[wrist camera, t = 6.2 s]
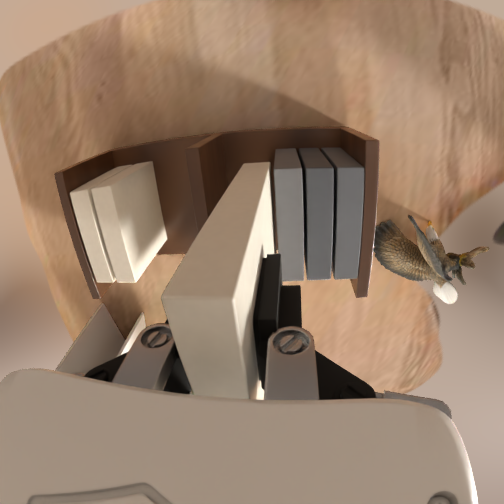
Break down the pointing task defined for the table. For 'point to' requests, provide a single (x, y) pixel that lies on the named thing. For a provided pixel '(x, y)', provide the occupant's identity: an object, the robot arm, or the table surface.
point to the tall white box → (98, 343)
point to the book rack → (219, 182)
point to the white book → (224, 289)
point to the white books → (120, 222)
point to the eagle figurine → (422, 258)
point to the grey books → (318, 212)
